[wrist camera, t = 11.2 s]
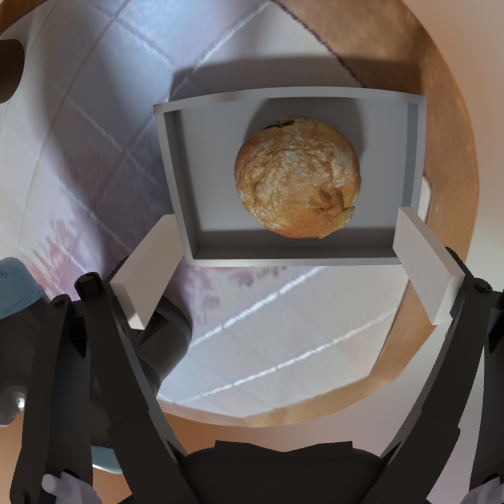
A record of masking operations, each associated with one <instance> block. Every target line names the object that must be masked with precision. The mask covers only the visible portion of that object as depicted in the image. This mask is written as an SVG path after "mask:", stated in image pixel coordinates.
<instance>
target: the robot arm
mask: <svg viewBox="0 0 504 504" xmlns="http://www.w3.org/2000/svg"><path fill="white" fill-rule="evenodd" d="M393 249H394V251H395V253H396V255H397V256H398V258H399V260H400V262H401V264H402V265H403V267H404V269H405V271H406V273H407V275H408V277H409V279H410V280H411V282H412V284H413V286H414V288H415V290H416V292H417V294H418V296H419V298H420V300H421V302H422V304H423V306H424V309H425V311H426V313H427V315H428V317H429V319H430V322H431V324H432V325H437V324H444V323H446V320H447V318H448V316H449V314H450V315H451V317H452V318H453V321H452V323H451V325H450V327H449V329H448V331H447V333H446V335H445V337H446V338H445V340H444V343H443V345H442V348H441V350H440V353H439V355H438V357H437V359H436V362H435V364H434V366H433V368H432V371H431V373H430V375H429V377H428V379H427V381H426V383H425V385H424V387H423V389H422V391H421V393H420V395H419V397H418V398H417V400H416V402H415V404H414V406H413V408H412V409H411V411H410V413H409V414H408V416H407V418H406V420H405V421H404V423H403V425H402V426H401V428H400V429H399V431H398V433H397V434H396V436H395V437H394V439H393V440H392V442H391V443H390V444H389V446H388V447H387V448H386V450H385V451H384V452H383V453H382V454H381V456H380V457H378V456H376V455H374V454H372V453H370V452H367V451H365V450H360V449H356V448H353V447H352V441H348V442H336V443H323V444H316V445H313V446H309V447H305V448H301V449H297V450H293V451H289V452H279V451H275V450H271V449H267V448H263V447H260V446H256V445H253V444H250V443H238V442H227V441H219V440H216V442H215V447H213V448H206V449H202V450H199V451H196V452H194V453H191V454H189V455H188V453H187V452H186V451H185V449H184V448H183V447H182V445H181V444H180V442H179V441H178V439H177V438H176V436H175V434H174V432H173V431H172V429H171V427H170V425H169V423H168V421H167V420H166V418H165V416H164V414H163V412H162V410H161V408H160V406H159V404H158V402H157V400H156V396H157V394H158V391H159V388H160V386H161V383H162V381H163V380H164V379H165V378H166V377H167V376H168V374H169V373H170V372H171V371H172V370H173V369H174V368H175V366H176V365H177V364H178V363H179V362H180V361H181V360H182V359H183V358H184V356H185V355H186V353H187V350H188V347H189V345H190V342H191V330H190V327H189V324H188V322H187V320H186V319H185V317H184V316H183V314H182V313H181V312H180V311H179V310H178V309H177V308H176V307H175V306H174V305H173V304H172V303H171V302H170V301H168V300H167V299H166V298H164V297H163V296H162V294H163V292H164V290H165V289H166V287H167V285H168V283H169V281H170V279H171V277H172V275H173V273H174V272H175V270H176V268H177V266H178V264H179V262H180V261H181V259H182V257H183V255H184V250H183V246H182V242H181V238H180V234H179V229H178V225H177V221H176V216H175V214H170V215H163V216H162V217H161V219H160V220H159V221H158V222H157V223H156V224H155V226H154V227H153V228H152V229H151V230H150V232H149V233H148V234H147V235H146V236H145V238H144V239H143V240H142V241H141V243H140V244H139V245H138V246H137V248H136V249H135V250H134V251H133V253H132V254H131V255H130V256H127V257H126V258H124V259H123V260H122V261H120V263H119V264H118V265H117V266H116V268H115V269H114V270H113V271H112V273H111V274H110V275H109V277H108V278H107V279H106V281H105V282H104V283H103V282H102V280H101V278H100V276H99V274H98V273H97V272H89V273H86V274H84V275H82V276H81V277H80V278H78V279H77V281H76V282H75V284H74V287H75V289H76V291H77V293H78V295H79V297H80V299H81V300H78V301H73V302H72V300H71V298H70V297H69V295H68V294H61V295H59V296H56V297H55V298H53V300H52V301H51V300H50V299H49V298H48V296H47V295H46V294H45V291H44V289H43V287H42V286H41V285H39V284H38V283H37V282H36V280H35V279H34V278H33V276H32V275H31V274H30V272H29V271H28V269H27V268H26V267H25V265H24V264H23V263H22V262H21V261H20V260H19V259H17V258H13V257H7V258H4V259H2V260H1V261H0V427H6V426H8V425H10V424H11V423H12V422H13V420H14V419H15V418H16V417H17V416H18V415H19V414H20V413H23V414H24V421H23V432H22V448H21V451H20V455H19V458H18V461H17V465H16V468H15V472H14V476H13V480H12V484H11V488H10V501H11V504H102V501H101V499H100V498H99V497H98V496H97V493H96V491H95V490H94V489H93V467H96V468H99V469H102V470H104V471H108V472H111V473H115V474H121V473H123V474H124V477H125V479H126V481H127V483H128V486H129V488H130V490H131V492H132V495H131V496H129V497H127V498H126V499H124V500H123V501H121V502H120V503H118V504H431V503H430V502H429V501H428V500H427V499H426V498H427V496H428V494H429V493H430V491H431V489H432V488H433V486H434V484H435V483H436V481H437V479H438V478H439V476H440V474H441V472H442V470H443V469H444V467H445V465H446V463H447V461H448V459H449V457H450V455H451V452H452V451H453V449H454V447H455V444H456V442H457V440H458V437H459V435H460V429H459V428H458V424H459V421H460V419H461V416H462V414H463V411H464V408H465V406H466V403H467V400H468V397H469V395H470V392H471V389H472V386H473V382H474V379H475V376H476V373H477V369H478V365H479V362H480V358H481V354H482V350H483V346H484V361H485V362H484V366H485V367H484V394H483V406H482V416H481V425H480V431H479V438H478V444H477V449H476V454H475V459H474V463H473V469H472V473H471V479H470V486H469V493H468V494H467V495H466V496H465V497H464V499H463V501H462V502H461V503H460V504H504V290H503V292H497V291H493V290H492V287H491V286H490V284H488V282H486V281H484V280H483V279H480V278H474V276H473V275H472V274H471V272H470V271H469V270H468V268H467V267H466V266H465V264H463V262H462V260H461V259H459V257H458V255H457V254H456V253H455V252H454V251H453V250H451V249H450V248H449V247H444V246H443V245H442V243H441V242H440V241H439V240H438V238H437V237H436V236H435V235H434V234H433V232H432V231H431V230H430V229H429V228H428V227H427V225H426V224H425V223H424V222H423V221H422V220H421V218H420V217H419V216H418V215H417V214H416V213H415V212H414V211H413V210H412V209H411V207H399V209H398V217H397V224H396V230H395V236H394V242H393Z"/></svg>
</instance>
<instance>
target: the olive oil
mask: <svg viewBox="0 0 504 504" xmlns="http://www.w3.org/2000/svg"><path fill="white" fill-rule="evenodd" d="M23 63H24V54H23V48H22V45H21V44H20V42H19V41H18V40H15V39H8V40H0V104H1V103H4V102H6V101H7V100H9V99H10V98H11V97H12V95H13V94H14V92H15V91H16V89H17V87H18V84H19V82H20V79H21V75H22V70H23Z"/></svg>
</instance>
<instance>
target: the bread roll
mask: <svg viewBox="0 0 504 504" xmlns="http://www.w3.org/2000/svg"><path fill="white" fill-rule="evenodd" d="M276 120H277V122H278V123H277V124H272V125H270V126H267V127H265V128H264V129H263V130H259V131H257V132H256V133H254V134H253V135H252V136H250V137H249V138H248V139H247V140H246V141H245V142H244V144H243V145H242V146H241V148H240V150H239V152H238V154H237V157H236V161H235V166H234V178H235V184H236V190H237V194H238V196H239V198H240V200H241V202H242V204H243V206H244V207H245V208H246V209H247V211H248V212H249V213H250V214H251V215H252V216H253V217H254V218H255V219H256V220H257V221H258V222H259V223H260V224H261V225H262V226H264V227H265V228H267V229H269V230H271V231H272V232H275V233H278V234H280V235H283V236H286V237H291V238H295V239H297V238H305V237H317V238H319V239H322V238H323V237H325V236H327V235H328V234H330V233H332V232H334V231H336V230H338V229H340V228H343V227H344V225H345V222H346V223H347V222H348V221H350V220H351V218H352V216H353V215H354V213H355V207H354V206H353V204H354V202H355V200H356V199H357V197H358V195H359V192H360V190H361V182H362V179H361V176H360V165H359V160H358V157H357V154H356V152H355V150H354V148H353V146H352V144H351V143H350V142H349V141H348V140H347V139H346V138H345V136H344V135H343V134H342V133H341V132H339V131H338V130H337V129H336V128H334V127H333V126H332V125H330V124H327V123H324V122H322V121H318V120H315V119H311V118H306V117H302V116H301V117H300V118H298V117H296V116H287V115H286V116H282V117H280V118H277V119H276Z"/></svg>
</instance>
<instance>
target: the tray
mask: <svg viewBox="0 0 504 504" xmlns="http://www.w3.org/2000/svg"><path fill="white" fill-rule="evenodd" d="M153 107H154V114H155V120H156V126H157V132H158V137H159V143H160V148H161V154H162V159H163V164H164V169H165V174H166V179H167V184H168V188H169V193H170V198H171V202H172V207H173V211H174V214H175V216H176V221H177V225H178V229H179V234H180V238H181V242H182V246H183V250H184V256H185V260H186V264H187V266H216V267H233V266H346V265H395V264H401V262H400V260H399V258H398V256H397V255H396V253H395V251H394V249H393V242H394V236H395V230H396V224H397V217H398V209H399V207H411V209H412V210H413V211H414V212H415V213H416V214H417V213H418V207H419V200H420V193H421V185H422V177H423V167H424V155H425V140H426V96H422V95H416V94H410V93H403V92H396V91H388V90H378V89H367V88H353V87H327V86H301V87H275V88H261V89H249V90H239V91H231V92H223V93H216V94H209V95H203V96H197V97H191V98H186V99H181V100H176V101H171V102H166V103H162V104H158V105H153ZM286 115H287V116H296V117H298V118H300V117H301V116H302V117H306V118H311V119H315V120H318V121H322V122H324V123H327V124H330V125H332V126H333V127H334V128H336V129H337V130H338V131H339V132H341V133H342V134H343V135H344V136H345V138H346V139H347V140H348V141H349V142H350V143H351V144H352V146H353V148H354V150H355V152H356V154H357V157H358V160H359V165H360V176H361V179H362V182H361V190H360V192H359V195H358V197H357V199H356V200H355V202H354V204H353V206H354V207H355V213H354V215H353V216H352V218H351V220H350V221H348V222H347V223H346V222H345V225H344V227H343V228H340V229H338V230H336V231H334V232H332V233H330V234H328V235H327V236H325V237H323V238H322V239H319V238H317V237H305V238H297V239H295V238H291V237H286V236H283V235H280V234H278V233H275V232H272V231H271V230H269V229H267V228H265V227H264V226H262V225H261V224H260V223H259V222H258V221H257V220H256V219H255V218H254V217H253V216H252V215H251V214H250V213H249V212H248V211H247V209H246V208H245V207H244V206H243V204H242V202H241V200H240V198H239V196H238V194H237V190H236V184H235V178H234V166H235V161H236V157H237V154H238V152H239V150H240V148H241V146H242V145H243V144H244V142H245V141H246V140H247V139H248V138H249V137H250V136H252V135H253V134H254V133H256V132H257V131H259V130H263V129H264V128H265V127H267V126H270V125H272V124H277V123H278V122H277V120H276V119H277V118H280V117H282V116H286Z"/></svg>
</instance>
